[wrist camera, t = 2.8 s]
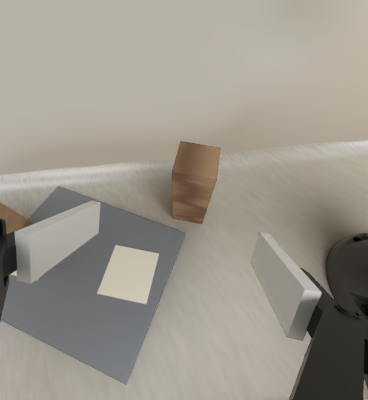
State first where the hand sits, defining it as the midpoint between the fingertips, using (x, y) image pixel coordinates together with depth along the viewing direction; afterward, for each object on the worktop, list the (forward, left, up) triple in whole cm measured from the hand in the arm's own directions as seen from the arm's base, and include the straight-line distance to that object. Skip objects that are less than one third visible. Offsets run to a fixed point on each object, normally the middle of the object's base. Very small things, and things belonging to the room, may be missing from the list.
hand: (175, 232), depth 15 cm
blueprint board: (+12, +4, -14) cm, 18 cm away
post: (+1, -10, -14) cm, 17 cm away
